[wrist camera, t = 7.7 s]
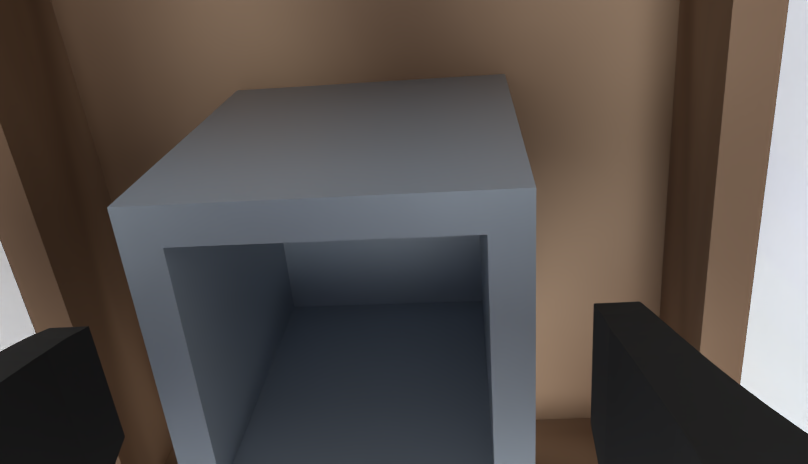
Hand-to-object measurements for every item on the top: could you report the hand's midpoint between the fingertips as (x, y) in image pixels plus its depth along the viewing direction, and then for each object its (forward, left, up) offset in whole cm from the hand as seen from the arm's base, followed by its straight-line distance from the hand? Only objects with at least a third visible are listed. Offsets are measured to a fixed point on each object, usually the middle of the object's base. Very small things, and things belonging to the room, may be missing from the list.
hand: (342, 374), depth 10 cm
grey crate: (0, 0, -6) cm, 6 cm away
